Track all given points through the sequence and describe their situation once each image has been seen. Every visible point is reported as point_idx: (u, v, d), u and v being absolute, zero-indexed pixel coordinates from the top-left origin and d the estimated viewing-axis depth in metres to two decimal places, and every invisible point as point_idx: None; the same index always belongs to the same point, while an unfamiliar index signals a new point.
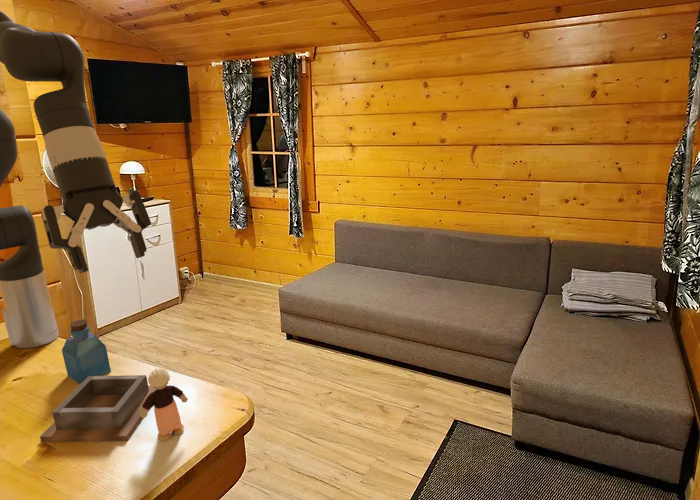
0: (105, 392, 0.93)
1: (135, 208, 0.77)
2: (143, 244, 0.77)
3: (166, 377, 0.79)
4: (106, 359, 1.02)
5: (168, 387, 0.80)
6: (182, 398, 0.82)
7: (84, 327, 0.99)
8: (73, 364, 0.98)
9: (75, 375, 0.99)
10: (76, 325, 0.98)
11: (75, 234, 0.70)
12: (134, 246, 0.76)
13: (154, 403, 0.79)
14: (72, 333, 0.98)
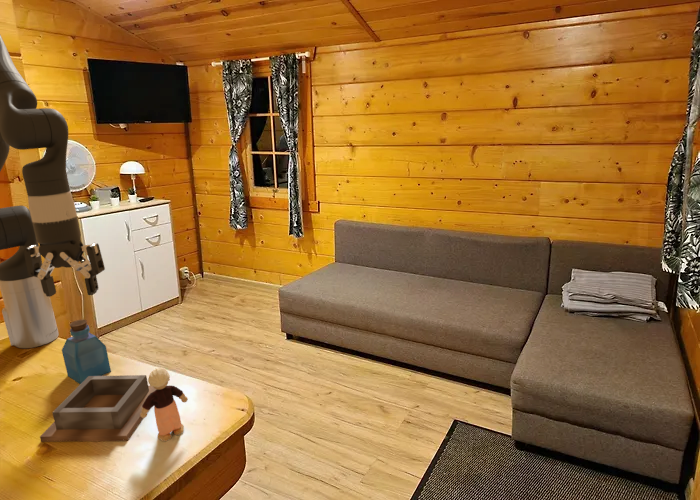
0: (105, 392, 0.93)
1: None
2: (92, 286, 0.96)
3: (166, 377, 0.79)
4: (106, 359, 1.02)
5: (168, 387, 0.80)
6: (182, 398, 0.82)
7: (84, 327, 0.99)
8: (73, 364, 0.98)
9: (75, 375, 0.99)
10: (76, 325, 0.98)
11: (42, 271, 0.95)
12: None
13: (154, 403, 0.79)
14: (72, 333, 0.98)
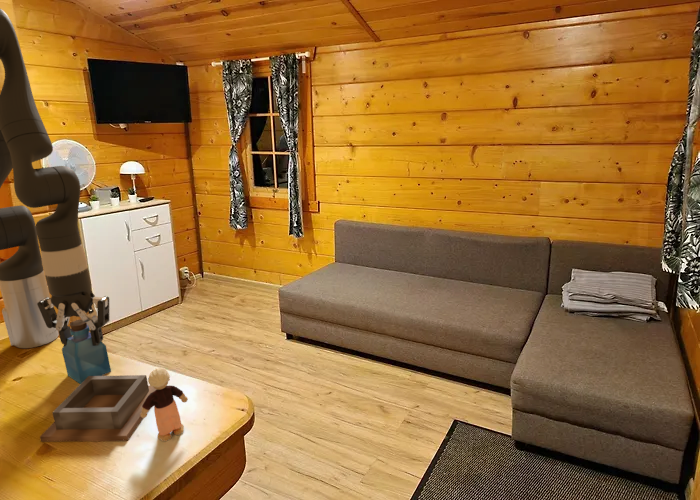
0: (105, 392, 0.93)
1: None
2: (97, 337, 0.99)
3: (166, 377, 0.79)
4: (106, 359, 1.02)
5: (168, 387, 0.80)
6: (182, 398, 0.82)
7: (84, 327, 0.99)
8: (73, 363, 0.98)
9: (75, 375, 0.99)
10: (76, 325, 0.98)
11: (59, 322, 0.98)
12: None
13: (155, 403, 0.79)
14: (72, 333, 0.98)
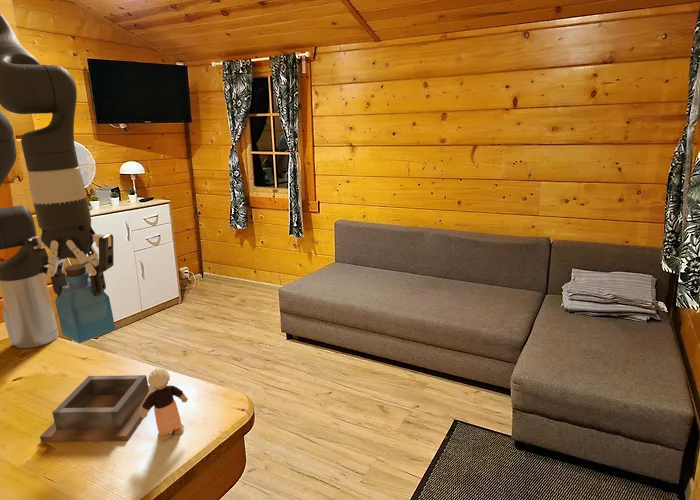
0: (105, 392, 0.93)
1: None
2: (99, 285, 0.81)
3: (166, 377, 0.79)
4: (109, 313, 0.83)
5: (168, 387, 0.80)
6: (182, 398, 0.82)
7: (82, 272, 0.80)
8: (69, 317, 0.80)
9: (71, 332, 0.81)
10: (72, 269, 0.79)
11: (51, 266, 0.79)
12: None
13: (154, 403, 0.79)
14: (68, 279, 0.79)
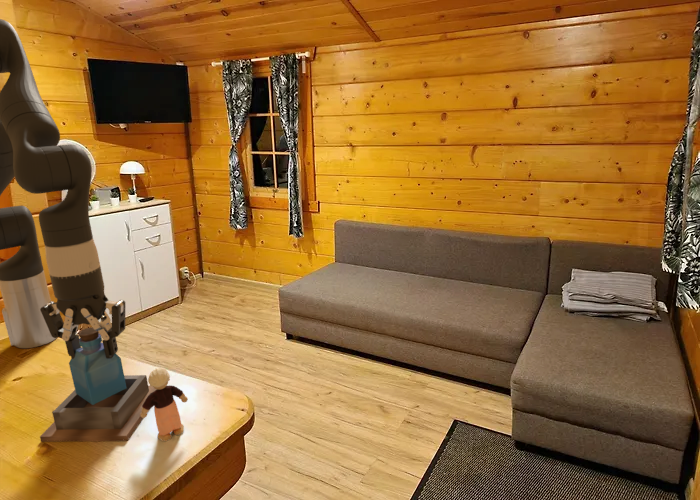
0: None
1: None
2: (111, 349, 0.84)
3: (166, 377, 0.79)
4: (121, 374, 0.87)
5: (168, 387, 0.80)
6: (182, 398, 0.82)
7: (96, 336, 0.84)
8: (82, 380, 0.83)
9: (85, 393, 0.84)
10: (86, 334, 0.83)
11: (66, 331, 0.83)
12: None
13: (154, 403, 0.79)
14: (81, 343, 0.83)
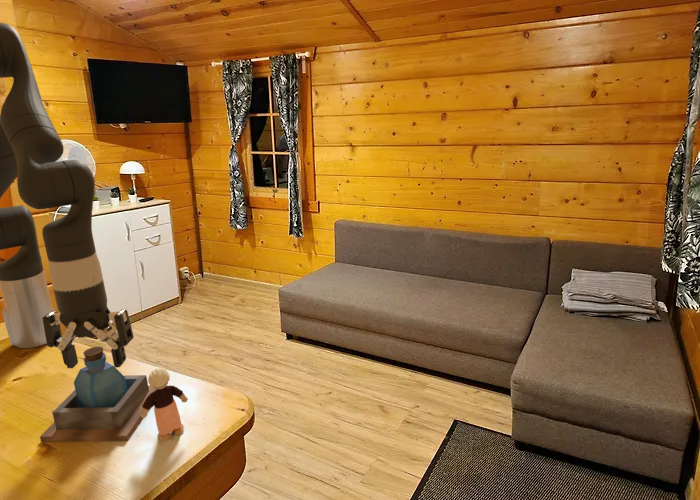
0: None
1: None
2: (120, 358, 0.84)
3: (166, 377, 0.79)
4: (125, 392, 0.88)
5: (168, 387, 0.80)
6: (182, 398, 0.82)
7: (100, 356, 0.85)
8: (87, 399, 0.84)
9: None
10: (91, 354, 0.84)
11: (63, 341, 0.83)
12: None
13: (154, 403, 0.79)
14: (86, 363, 0.84)
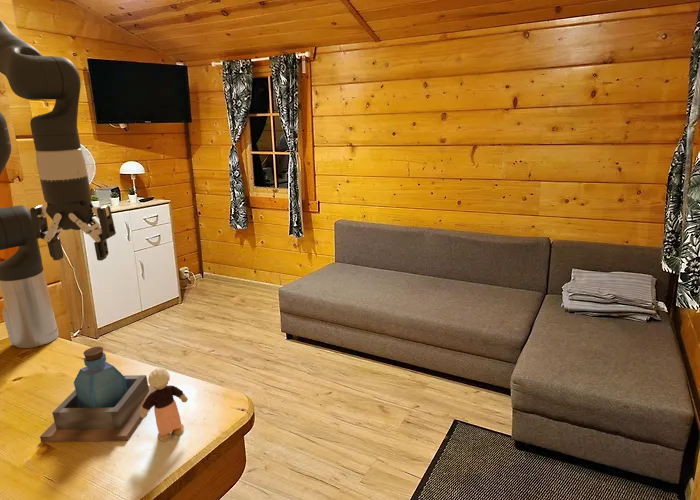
0: None
1: None
2: (102, 251, 0.90)
3: (166, 377, 0.79)
4: (125, 392, 0.88)
5: (168, 387, 0.80)
6: (182, 398, 0.82)
7: (100, 356, 0.85)
8: (87, 399, 0.84)
9: None
10: (91, 354, 0.84)
11: (49, 233, 0.89)
12: None
13: (155, 403, 0.79)
14: (86, 363, 0.84)
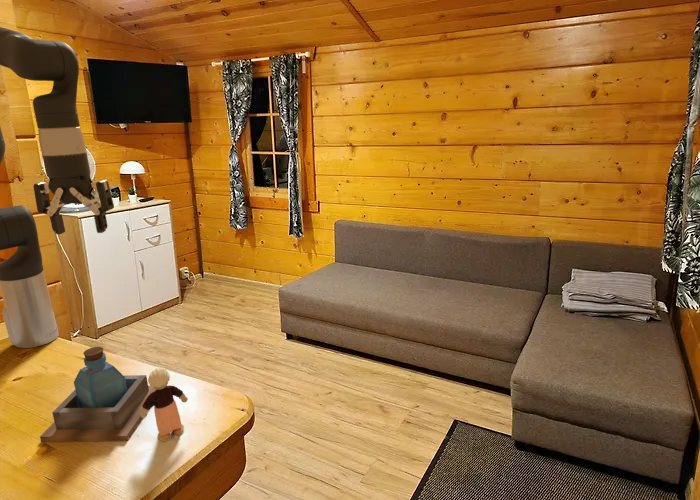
0: None
1: None
2: (102, 224, 0.96)
3: (166, 377, 0.79)
4: (125, 392, 0.88)
5: (168, 387, 0.80)
6: (182, 398, 0.82)
7: (100, 356, 0.85)
8: (87, 399, 0.84)
9: None
10: (91, 354, 0.84)
11: (52, 207, 0.95)
12: None
13: (155, 403, 0.79)
14: (86, 363, 0.84)
